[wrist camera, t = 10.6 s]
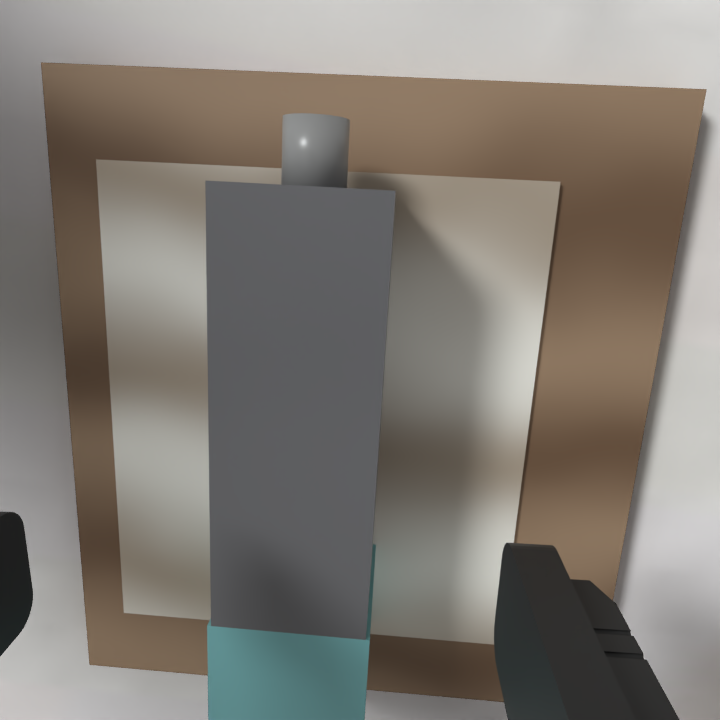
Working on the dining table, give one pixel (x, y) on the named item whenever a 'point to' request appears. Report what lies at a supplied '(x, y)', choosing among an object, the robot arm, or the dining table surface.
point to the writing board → (403, 345)
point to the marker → (294, 429)
